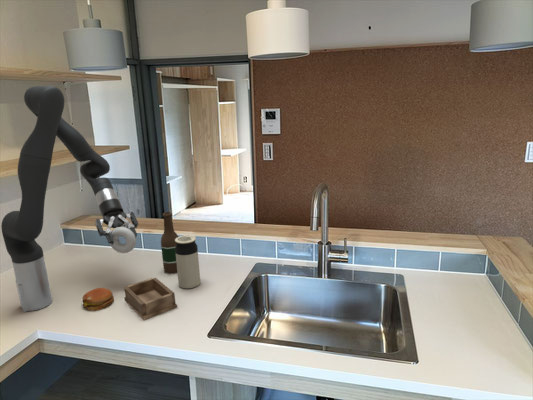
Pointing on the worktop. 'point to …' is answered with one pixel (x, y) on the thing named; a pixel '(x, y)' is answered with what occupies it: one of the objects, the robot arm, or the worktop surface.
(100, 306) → the burger
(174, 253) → the beer bottle
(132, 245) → the donut
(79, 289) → the worktop surface
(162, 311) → the walnut stand
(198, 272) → the travel mug
